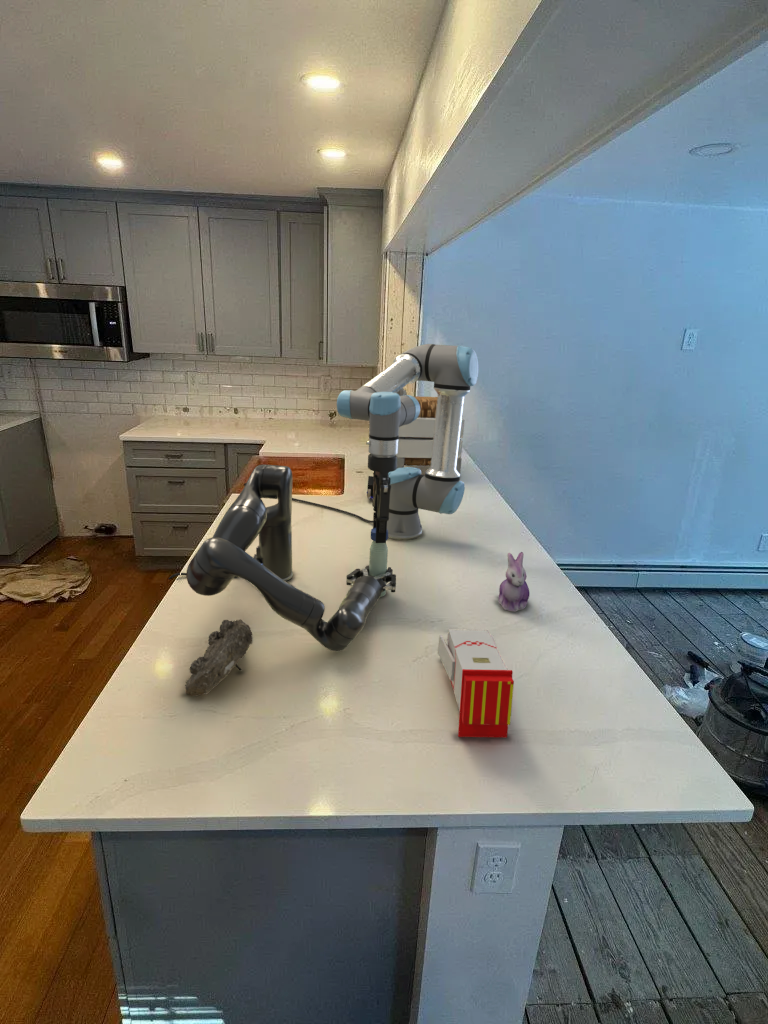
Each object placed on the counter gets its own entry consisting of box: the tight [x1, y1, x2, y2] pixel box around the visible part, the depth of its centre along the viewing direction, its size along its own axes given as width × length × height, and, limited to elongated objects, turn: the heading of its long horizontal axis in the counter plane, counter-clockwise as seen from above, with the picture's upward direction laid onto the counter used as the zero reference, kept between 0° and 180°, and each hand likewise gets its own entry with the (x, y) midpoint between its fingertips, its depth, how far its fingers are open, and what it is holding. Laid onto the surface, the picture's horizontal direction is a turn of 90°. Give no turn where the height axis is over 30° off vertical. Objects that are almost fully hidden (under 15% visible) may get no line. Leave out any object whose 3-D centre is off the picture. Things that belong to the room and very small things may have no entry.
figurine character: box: [366, 475, 374, 502], centre depth 235 cm, size 7×8×15 cm
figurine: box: [497, 551, 530, 612], centre depth 152 cm, size 9×10×15 cm
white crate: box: [396, 387, 465, 475], centre depth 268 cm, size 34×33×41 cm
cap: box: [370, 527, 389, 542], centre depth 152 cm, size 5×5×2 cm
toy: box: [437, 628, 515, 738], centre depth 117 cm, size 12×13×30 cm
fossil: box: [184, 619, 253, 697], centre depth 121 cm, size 22×10×15 cm
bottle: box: [368, 540, 389, 598], centre depth 155 cm, size 5×5×18 cm
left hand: (380, 568), depth 158 cm, fingers closed on bottle, 5 cm apart
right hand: (379, 538), depth 152 cm, fingers closed on cap, 4 cm apart
